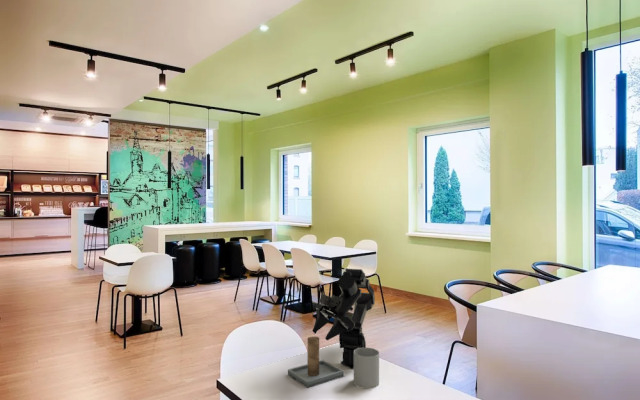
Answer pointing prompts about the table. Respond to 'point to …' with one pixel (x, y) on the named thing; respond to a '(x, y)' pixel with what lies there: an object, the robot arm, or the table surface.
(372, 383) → the cup
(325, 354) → the table surface
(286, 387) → the table surface
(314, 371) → the dowel
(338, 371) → the tray
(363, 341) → the robot arm
